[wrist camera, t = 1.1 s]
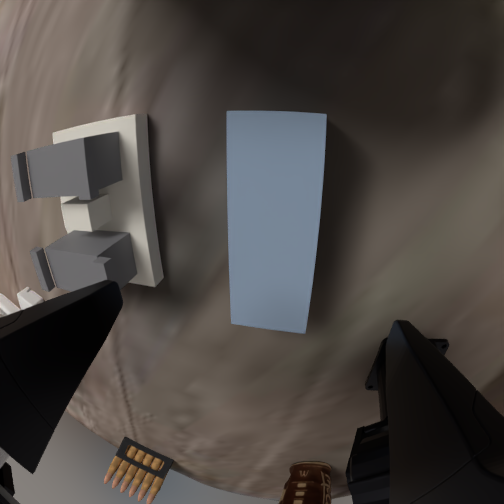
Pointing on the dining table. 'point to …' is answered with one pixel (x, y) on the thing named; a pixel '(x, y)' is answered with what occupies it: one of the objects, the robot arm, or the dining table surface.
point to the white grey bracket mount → (96, 204)
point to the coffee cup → (308, 484)
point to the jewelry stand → (26, 299)
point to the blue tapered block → (273, 215)
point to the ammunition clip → (138, 469)
